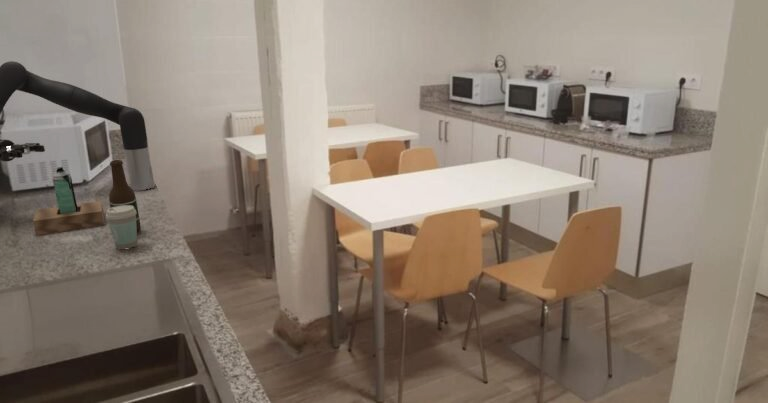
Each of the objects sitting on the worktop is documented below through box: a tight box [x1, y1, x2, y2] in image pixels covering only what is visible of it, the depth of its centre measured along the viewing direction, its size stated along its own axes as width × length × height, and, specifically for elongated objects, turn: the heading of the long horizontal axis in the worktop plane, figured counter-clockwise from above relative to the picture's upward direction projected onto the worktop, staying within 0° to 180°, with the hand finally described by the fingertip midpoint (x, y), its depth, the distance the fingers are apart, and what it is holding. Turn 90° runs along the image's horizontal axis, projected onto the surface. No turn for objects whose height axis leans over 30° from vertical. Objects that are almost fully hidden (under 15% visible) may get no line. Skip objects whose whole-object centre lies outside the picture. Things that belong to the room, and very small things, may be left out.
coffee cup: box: [105, 205, 138, 250], centre depth 169 cm, size 8×8×12 cm
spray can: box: [51, 166, 78, 214], centre depth 190 cm, size 6×6×20 cm
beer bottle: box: [108, 159, 142, 234], centre depth 179 cm, size 8×8×24 cm
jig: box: [32, 200, 105, 236], centre depth 192 cm, size 20×14×5 cm
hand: (32, 151), depth 189 cm, fingers open, 8 cm apart
